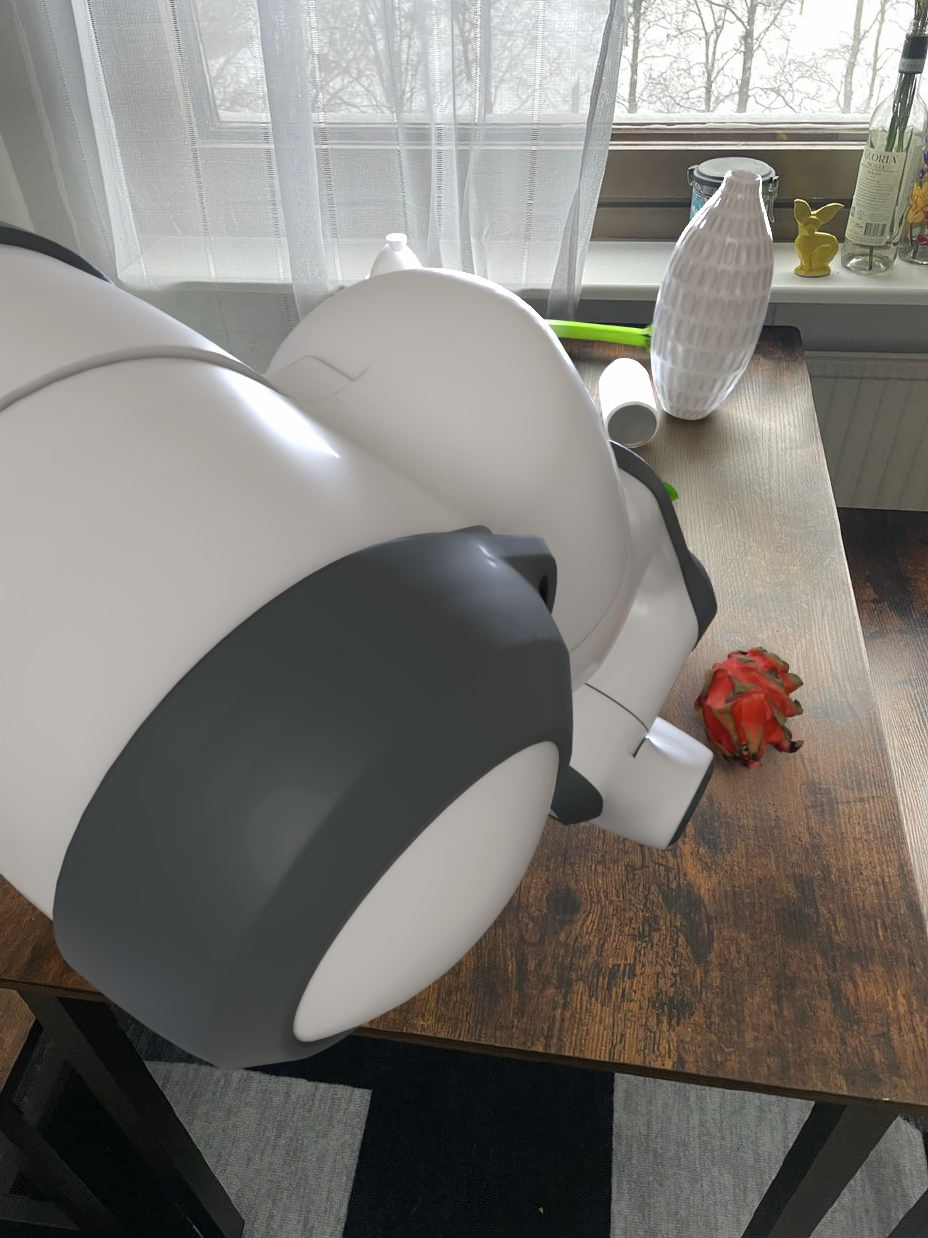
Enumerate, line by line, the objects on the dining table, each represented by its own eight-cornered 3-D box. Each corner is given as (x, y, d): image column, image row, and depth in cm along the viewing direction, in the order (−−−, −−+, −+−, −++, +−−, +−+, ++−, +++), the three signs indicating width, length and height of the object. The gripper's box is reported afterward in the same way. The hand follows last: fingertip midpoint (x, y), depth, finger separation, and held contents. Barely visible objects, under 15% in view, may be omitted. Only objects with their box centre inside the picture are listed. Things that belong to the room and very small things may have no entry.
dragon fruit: (752, 693, 84) (738, 809, 77) (681, 647, 82) (660, 761, 74) (826, 657, 77) (820, 780, 70) (752, 606, 75) (737, 727, 68)
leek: (494, 293, 134) (705, 306, 124) (502, 328, 140) (704, 343, 130) (483, 324, 131) (696, 340, 122) (491, 359, 137) (695, 376, 128)
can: (668, 434, 110) (656, 385, 119) (645, 392, 107) (634, 345, 116) (619, 458, 113) (611, 409, 122) (595, 418, 109) (588, 370, 118)
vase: (726, 444, 112) (797, 202, 93) (624, 418, 115) (674, 179, 96) (742, 398, 121) (810, 169, 102) (647, 375, 124) (697, 149, 105)
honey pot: (459, 373, 128) (453, 242, 116) (368, 388, 126) (352, 256, 114) (437, 334, 137) (429, 209, 125) (352, 348, 135) (336, 221, 123)
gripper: (572, 596, 72) (432, 537, 78) (409, 767, 60) (259, 681, 66) (569, 654, 76) (436, 594, 83) (416, 825, 64) (274, 739, 71)
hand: (356, 634), depth 74 cm, fingers open, 8 cm apart
